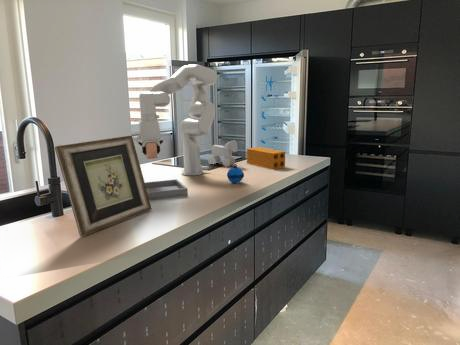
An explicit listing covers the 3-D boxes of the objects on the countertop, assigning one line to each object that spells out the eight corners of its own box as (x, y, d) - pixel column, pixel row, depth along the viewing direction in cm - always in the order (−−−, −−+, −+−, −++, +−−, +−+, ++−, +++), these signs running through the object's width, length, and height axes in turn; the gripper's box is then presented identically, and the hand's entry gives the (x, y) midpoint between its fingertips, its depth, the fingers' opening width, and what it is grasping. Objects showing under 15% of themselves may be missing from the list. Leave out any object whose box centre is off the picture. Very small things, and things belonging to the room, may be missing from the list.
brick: (285, 167, 229) (285, 151, 227) (272, 169, 224) (273, 153, 222) (258, 161, 250) (258, 147, 248) (246, 163, 244) (246, 148, 242)
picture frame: (82, 237, 123) (72, 147, 116) (64, 232, 128) (53, 145, 121) (152, 210, 150) (147, 136, 143) (134, 207, 155) (129, 135, 148)
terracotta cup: (156, 156, 193) (155, 140, 191) (158, 158, 187) (157, 142, 186) (145, 157, 191) (143, 141, 189) (146, 159, 185) (145, 143, 183)
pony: (241, 165, 238) (240, 139, 234) (232, 168, 229) (232, 141, 226) (215, 162, 248) (214, 137, 245) (206, 165, 240) (205, 139, 236)
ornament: (224, 184, 190) (224, 165, 188) (230, 180, 198) (230, 162, 196) (240, 185, 187) (240, 166, 185) (245, 181, 195) (245, 162, 193)
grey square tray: (177, 185, 188) (177, 179, 188) (187, 195, 170) (187, 188, 169) (137, 190, 181) (136, 183, 180) (143, 201, 163) (143, 193, 162)
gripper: (164, 116, 191) (166, 151, 195) (130, 118, 185) (133, 154, 189) (167, 117, 184) (169, 153, 188) (131, 119, 178) (135, 156, 182)
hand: (151, 153), depth 189 cm, fingers closed on terracotta cup, 6 cm apart
